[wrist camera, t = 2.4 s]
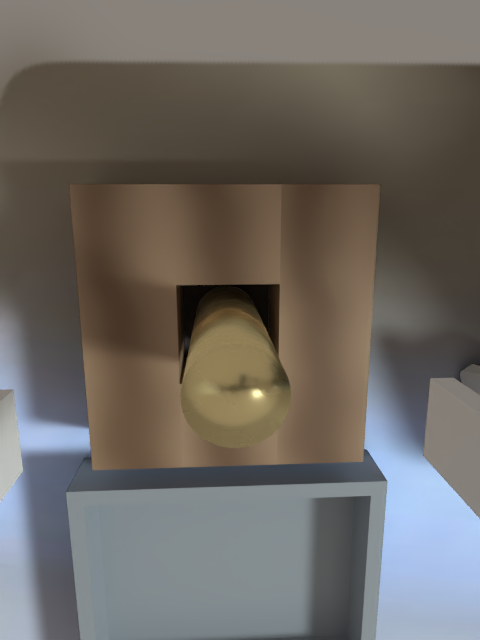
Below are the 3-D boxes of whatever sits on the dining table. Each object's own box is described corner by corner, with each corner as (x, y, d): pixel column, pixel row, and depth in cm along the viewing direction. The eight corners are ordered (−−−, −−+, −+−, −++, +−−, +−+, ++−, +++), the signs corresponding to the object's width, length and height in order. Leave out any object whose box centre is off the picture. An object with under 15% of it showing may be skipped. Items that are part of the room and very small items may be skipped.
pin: (256, 285, 30) (292, 343, 16) (256, 344, 31) (290, 446, 17) (195, 286, 30) (178, 344, 16) (196, 345, 30) (182, 449, 17)
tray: (366, 449, 33) (387, 481, 29) (355, 633, 36) (372, 683, 32) (84, 458, 32) (65, 492, 28) (100, 646, 35) (86, 699, 31)
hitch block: (352, 189, 29) (380, 184, 24) (340, 424, 32) (363, 461, 27) (94, 189, 28) (69, 184, 23) (111, 431, 31) (92, 470, 27)
